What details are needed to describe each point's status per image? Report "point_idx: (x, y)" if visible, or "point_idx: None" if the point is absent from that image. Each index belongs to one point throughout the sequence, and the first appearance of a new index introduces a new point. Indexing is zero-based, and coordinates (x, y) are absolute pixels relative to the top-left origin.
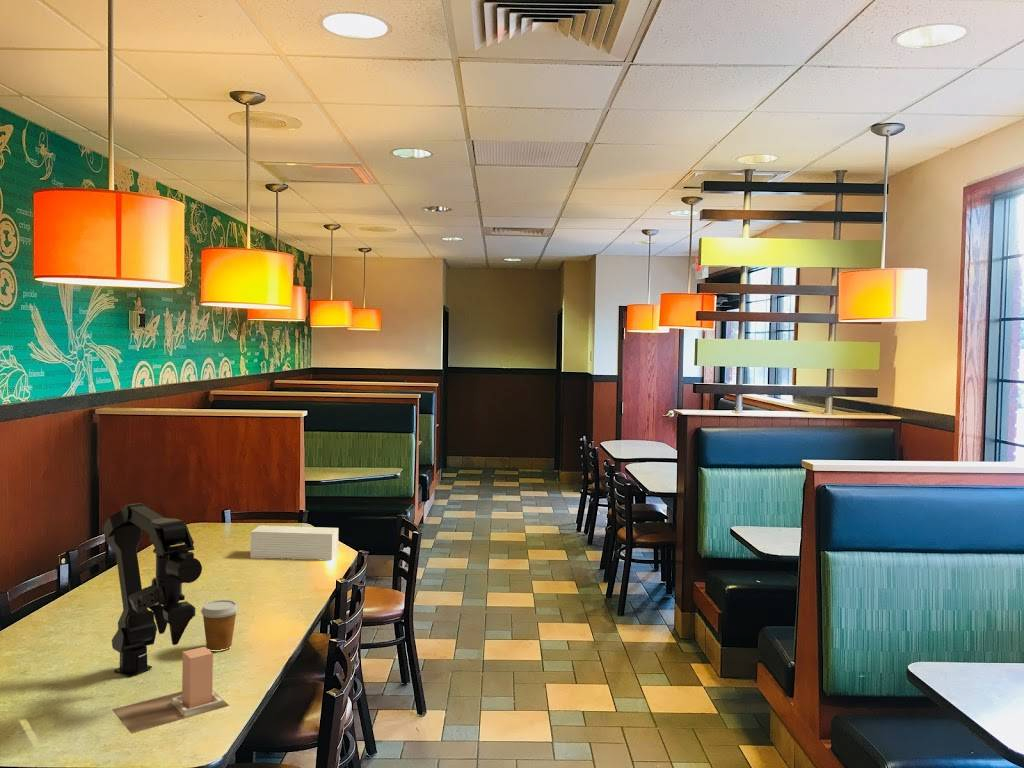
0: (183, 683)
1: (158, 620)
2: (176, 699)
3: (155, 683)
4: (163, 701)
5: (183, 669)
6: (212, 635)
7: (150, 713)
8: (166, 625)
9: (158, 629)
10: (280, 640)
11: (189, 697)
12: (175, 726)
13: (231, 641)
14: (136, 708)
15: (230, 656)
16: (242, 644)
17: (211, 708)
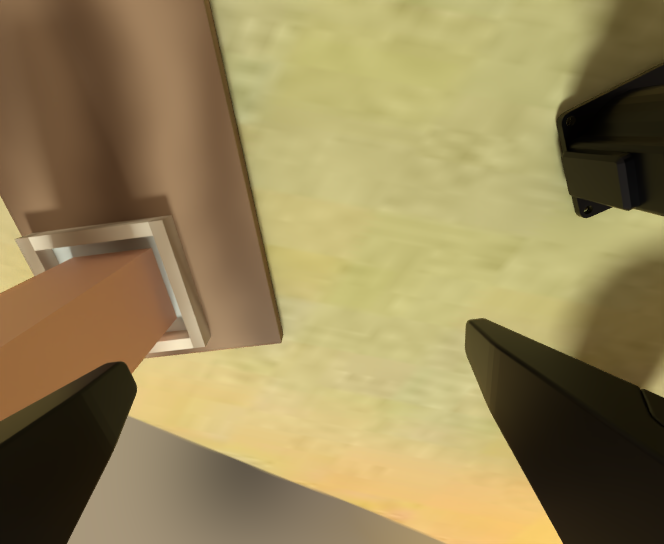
0: (84, 283)
1: (569, 417)
2: (138, 234)
3: (427, 201)
4: (195, 191)
5: (28, 319)
6: None
7: (92, 122)
8: (497, 421)
9: (498, 335)
10: (508, 536)
11: (39, 276)
12: None
13: None
14: (164, 75)
15: (492, 433)
16: None
17: None
